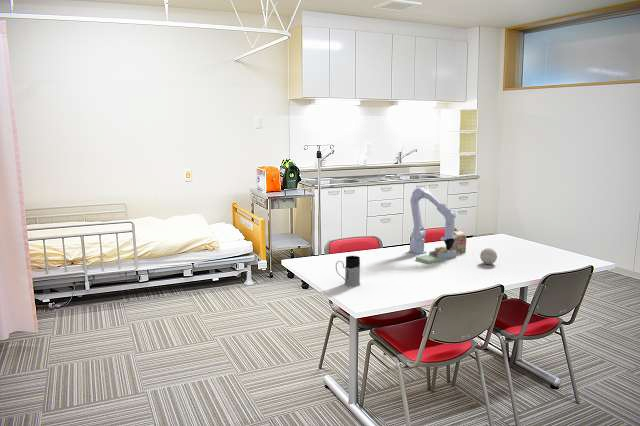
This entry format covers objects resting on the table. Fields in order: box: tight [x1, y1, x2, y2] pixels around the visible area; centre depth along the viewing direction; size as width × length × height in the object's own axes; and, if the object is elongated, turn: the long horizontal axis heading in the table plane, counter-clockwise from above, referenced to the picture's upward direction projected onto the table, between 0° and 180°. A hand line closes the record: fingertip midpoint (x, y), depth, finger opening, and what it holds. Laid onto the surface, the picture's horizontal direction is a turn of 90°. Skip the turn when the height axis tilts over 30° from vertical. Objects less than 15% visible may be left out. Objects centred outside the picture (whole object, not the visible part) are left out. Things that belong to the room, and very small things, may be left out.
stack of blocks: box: [451, 230, 468, 253], centre depth 363 cm, size 21×6×12 cm, turn 0°
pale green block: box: [415, 247, 457, 265], centre depth 335 cm, size 12×27×4 cm, turn 126°
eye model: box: [479, 247, 498, 265], centre depth 324 cm, size 10×10×10 cm
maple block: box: [434, 246, 446, 256], centre depth 337 cm, size 5×5×5 cm
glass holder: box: [335, 255, 361, 288], centre depth 280 cm, size 9×14×15 cm, turn 110°
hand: (448, 250), depth 341 cm, fingers closed
